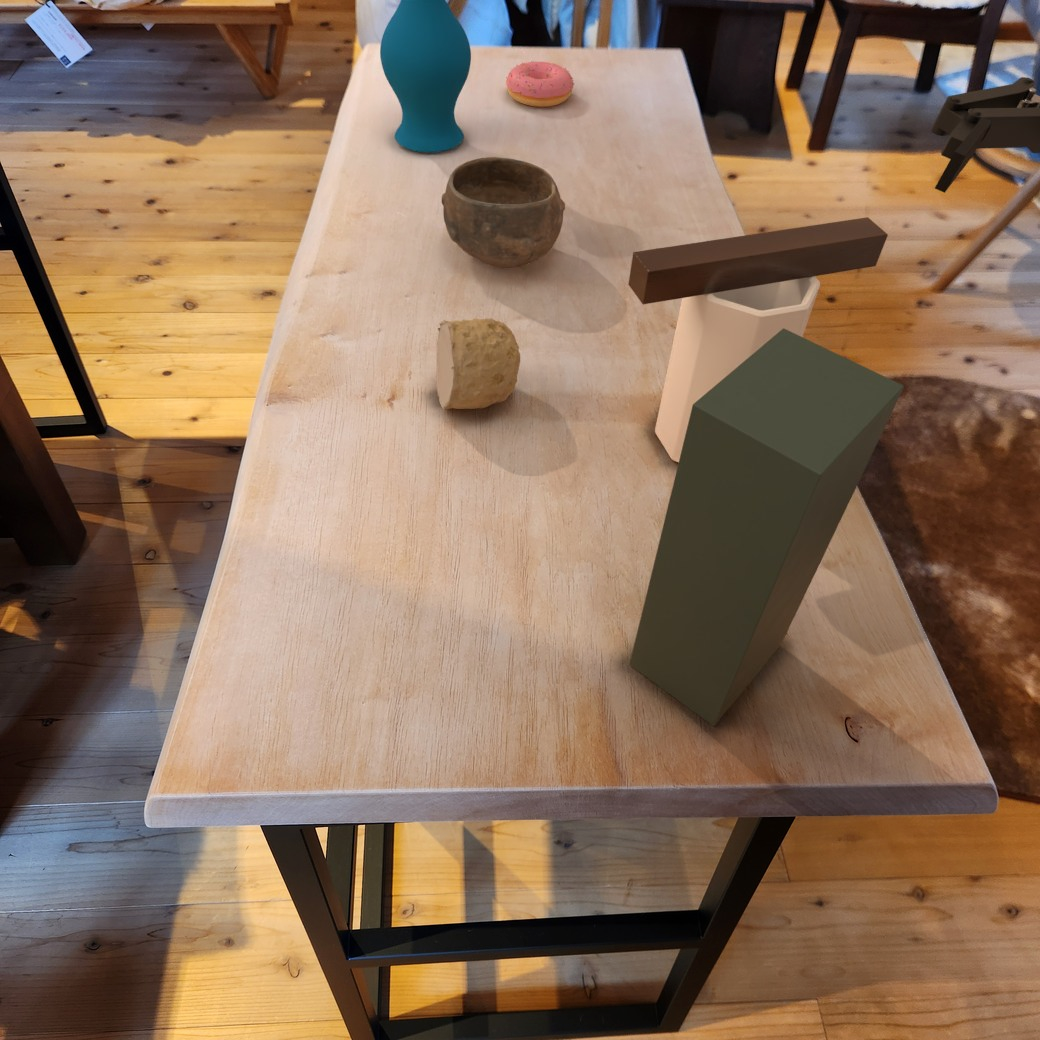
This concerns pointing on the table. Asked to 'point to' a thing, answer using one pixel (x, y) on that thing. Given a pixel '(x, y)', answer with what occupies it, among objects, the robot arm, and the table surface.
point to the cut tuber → (475, 363)
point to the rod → (754, 259)
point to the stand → (754, 514)
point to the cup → (724, 343)
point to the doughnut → (539, 84)
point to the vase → (426, 72)
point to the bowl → (502, 211)
